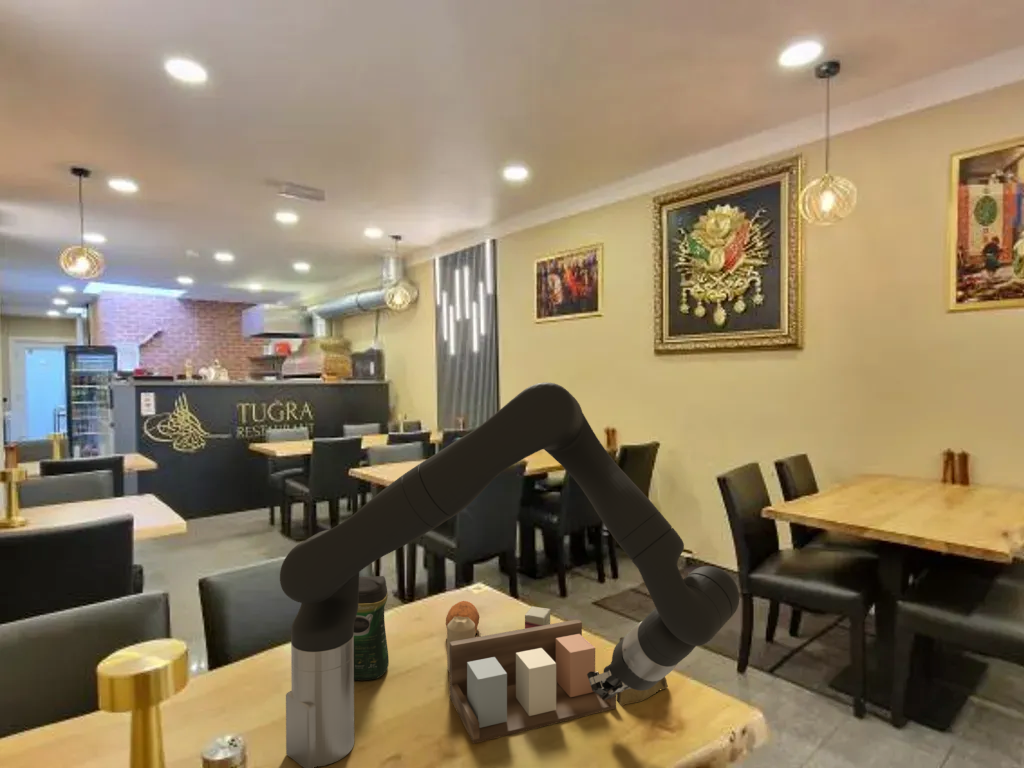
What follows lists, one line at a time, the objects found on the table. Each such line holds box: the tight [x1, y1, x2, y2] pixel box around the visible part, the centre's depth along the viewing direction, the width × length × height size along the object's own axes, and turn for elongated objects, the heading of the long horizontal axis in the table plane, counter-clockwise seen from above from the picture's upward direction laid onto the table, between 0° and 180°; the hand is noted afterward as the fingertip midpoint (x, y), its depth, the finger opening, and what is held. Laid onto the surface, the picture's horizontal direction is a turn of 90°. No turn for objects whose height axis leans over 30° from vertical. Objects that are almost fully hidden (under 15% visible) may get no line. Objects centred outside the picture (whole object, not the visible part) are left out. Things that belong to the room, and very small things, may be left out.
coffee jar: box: [354, 575, 389, 681], centre depth 113 cm, size 10×8×19 cm
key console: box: [449, 618, 617, 744], centre depth 102 cm, size 14×26×10 cm, turn 112°
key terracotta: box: [556, 634, 596, 697], centre depth 106 cm, size 6×5×8 cm
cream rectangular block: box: [516, 648, 556, 716], centre depth 101 cm, size 6×5×8 cm
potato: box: [445, 600, 480, 634], centre depth 129 cm, size 7×13×7 cm, turn 176°
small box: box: [524, 605, 551, 629], centre depth 122 cm, size 5×4×8 cm
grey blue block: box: [467, 657, 507, 728], centre depth 97 cm, size 6×5×8 cm
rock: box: [616, 636, 669, 707], centre depth 105 cm, size 11×9×10 cm
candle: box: [446, 616, 476, 673], centre depth 114 cm, size 6×6×10 cm
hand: (603, 692), depth 96 cm, fingers closed
